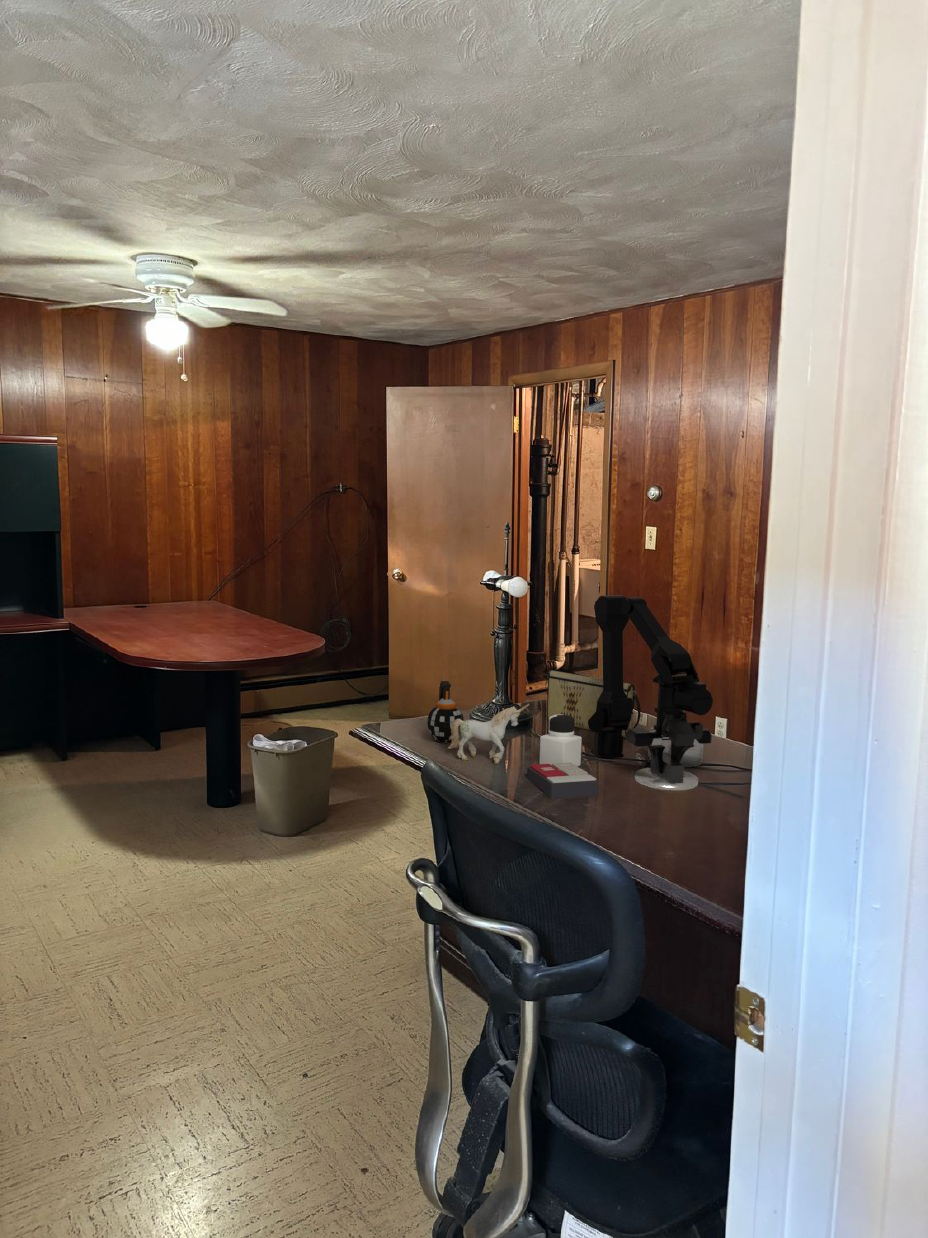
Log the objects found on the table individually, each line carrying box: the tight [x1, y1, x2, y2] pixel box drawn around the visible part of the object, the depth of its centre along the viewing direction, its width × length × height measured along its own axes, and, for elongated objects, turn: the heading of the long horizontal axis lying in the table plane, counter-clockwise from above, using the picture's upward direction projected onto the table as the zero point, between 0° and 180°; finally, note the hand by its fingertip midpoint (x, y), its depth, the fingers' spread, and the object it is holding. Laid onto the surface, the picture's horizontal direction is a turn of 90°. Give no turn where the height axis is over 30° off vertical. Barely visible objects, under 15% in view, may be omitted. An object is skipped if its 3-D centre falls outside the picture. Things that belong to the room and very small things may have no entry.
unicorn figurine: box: [447, 703, 530, 765], centre depth 213 cm, size 7×20×13 cm, turn 90°
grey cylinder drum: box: [647, 726, 704, 768], centre depth 218 cm, size 13×13×7 cm
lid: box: [634, 753, 699, 792], centre depth 201 cm, size 14×14×5 cm
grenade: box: [426, 680, 465, 745], centre depth 230 cm, size 11×10×15 cm
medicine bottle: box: [538, 714, 583, 767], centre depth 210 cm, size 7×7×12 cm
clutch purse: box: [545, 669, 642, 739], centre depth 246 cm, size 30×7×15 cm, turn 50°
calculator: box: [526, 762, 600, 800], centre depth 195 cm, size 11×4×15 cm
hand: (666, 772), depth 201 cm, fingers closed on lid, 3 cm apart
